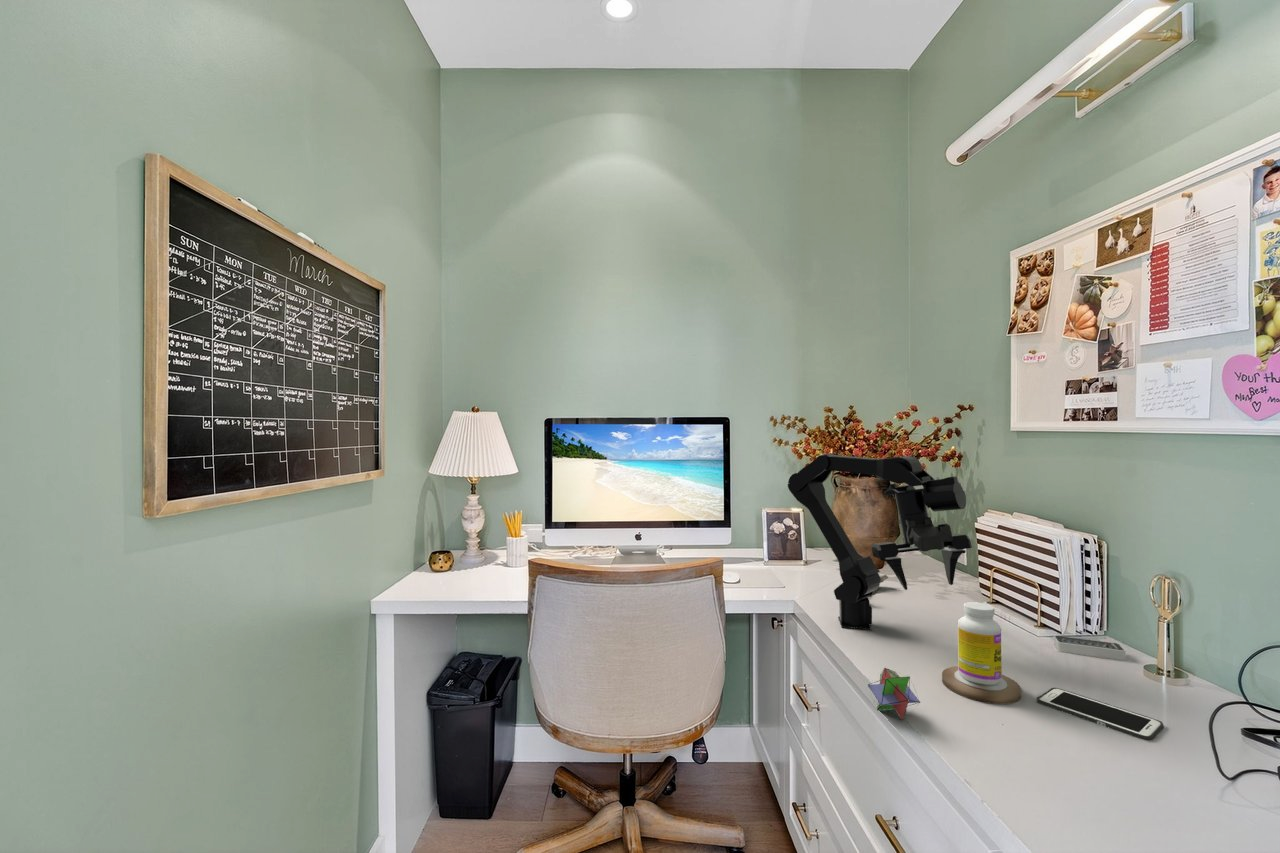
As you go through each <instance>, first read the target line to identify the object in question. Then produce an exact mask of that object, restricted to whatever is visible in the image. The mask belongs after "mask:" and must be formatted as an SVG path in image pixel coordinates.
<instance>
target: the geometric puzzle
mask: <svg viewBox="0 0 1280 853" xmlns="http://www.w3.org/2000/svg"><path fill="white" fill-rule="evenodd" d="M879 674H880V675H879V680H876V681H874V682H870V683H868V684H866V685H867V687H868V688H869V691H870V692H871V693H870V694H871V696H872V695H873V696H874V698H876V700H877V703H878V705H877V706H875V707H876V711H879V712H880V711H882V710H883V711H882V713H883V714H885V712H884V710H886V711H888V712H890V713H891V714H892V715H894V718H896V719H898V720H901V721H902V722H903V721H904V720H905V716H906V714H905V713H906V711H907V707H910V706H913V705H918V704H920V703H921V701H920V700H919V697H918V696H917V695H918V694H917V692H915V693H916V695H915V693H914V692H913V691H912V689H911V688H910V684H911V683H912V682H911V680H912V679H911V676H910V675H908V676H900V675H899V674H898V672H897V671H895V670H892V669H889V668H887V667H884V668H883V669H882V670H881V672H880V673H879ZM877 682H879V683H877ZM910 682H911V683H910ZM875 683H877V684H875ZM912 685H914V683H912ZM913 688H914V690H916V689H915V687H913ZM873 703H874V704H875V703H876V702H875V701H873ZM890 710H895V712H896V713H897V715H896V714H894V713H893V712H892V711H890ZM887 715H888V716H891V717H892V715H889V714H888V713H887Z"/></svg>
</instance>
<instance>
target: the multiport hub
mask: <svg viewBox="0 0 1280 853" xmlns="http://www.w3.org/2000/svg"><path fill="white" fill-rule="evenodd" d="M1053 646H1054V647H1055V649H1056V650H1057V652H1059V653H1065V654H1072V655H1078V656H1080V655H1081V656H1086V657H1092V658H1093V657H1094V658H1101V659H1108V660H1114V661H1115V660H1116V661H1123V662H1125V661H1126V650H1125V649H1124V648H1123V646H1121V645H1120V643H1115V642H1110V641H1109V642H1107V641H1100V640H1093V639H1083V638H1078V637H1077V638H1075V637H1069V636H1068V637H1067V636H1063V635H1062V636H1061V635H1053Z"/></svg>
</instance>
